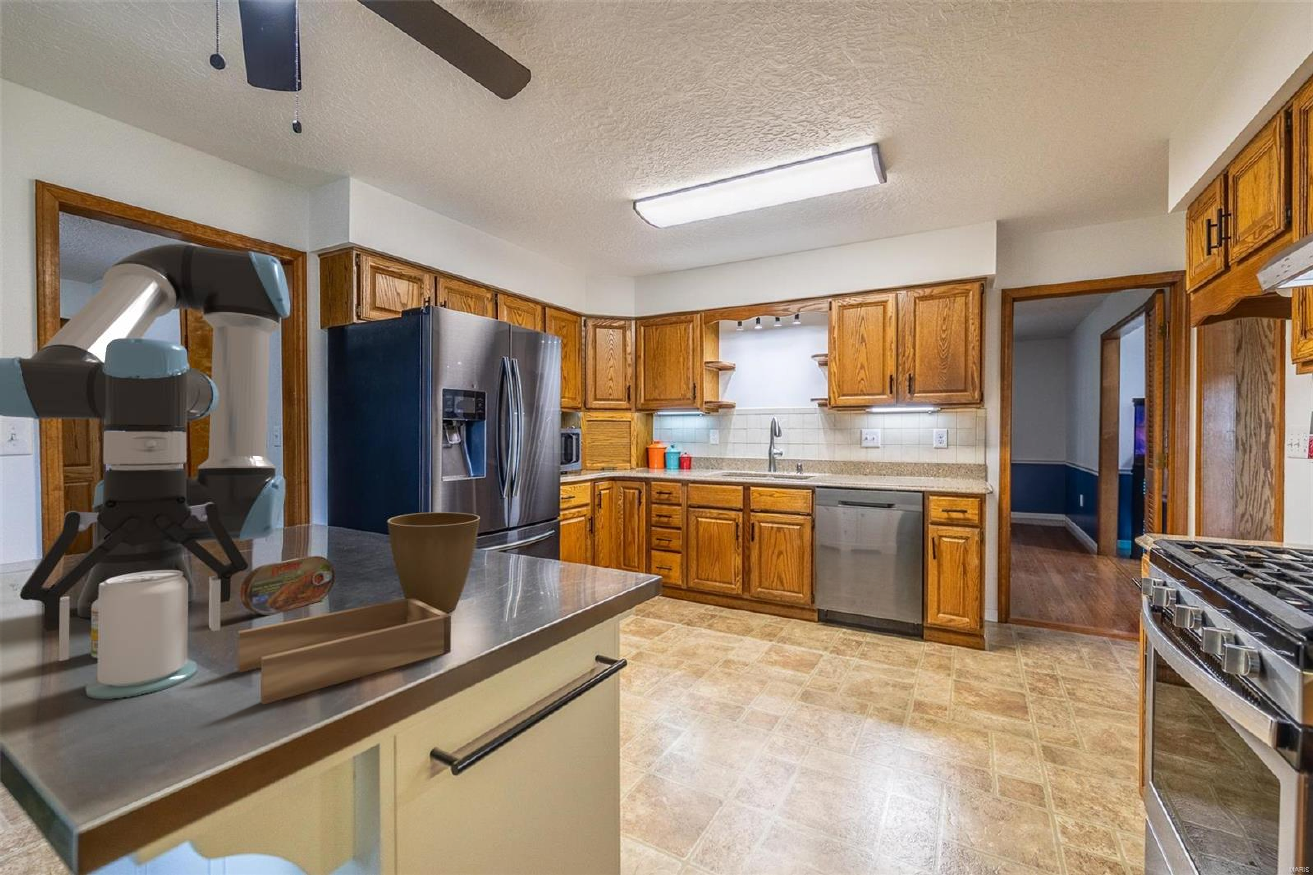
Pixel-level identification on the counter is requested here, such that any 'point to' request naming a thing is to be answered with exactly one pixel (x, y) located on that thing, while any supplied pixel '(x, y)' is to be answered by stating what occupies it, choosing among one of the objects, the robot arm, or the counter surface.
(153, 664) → the beverage can
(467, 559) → the plant pot
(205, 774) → the counter surface
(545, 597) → the counter surface
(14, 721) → the counter surface
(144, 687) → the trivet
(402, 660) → the brown wooden rectangular tray
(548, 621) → the counter surface
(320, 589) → the tin
